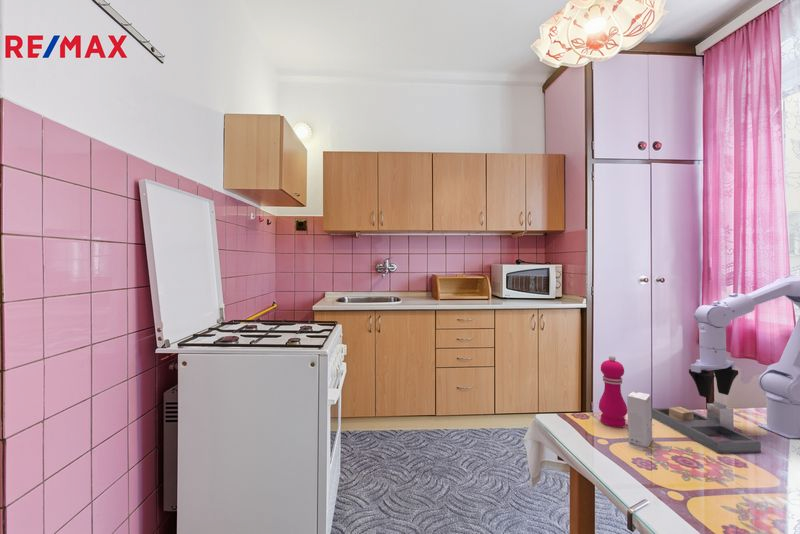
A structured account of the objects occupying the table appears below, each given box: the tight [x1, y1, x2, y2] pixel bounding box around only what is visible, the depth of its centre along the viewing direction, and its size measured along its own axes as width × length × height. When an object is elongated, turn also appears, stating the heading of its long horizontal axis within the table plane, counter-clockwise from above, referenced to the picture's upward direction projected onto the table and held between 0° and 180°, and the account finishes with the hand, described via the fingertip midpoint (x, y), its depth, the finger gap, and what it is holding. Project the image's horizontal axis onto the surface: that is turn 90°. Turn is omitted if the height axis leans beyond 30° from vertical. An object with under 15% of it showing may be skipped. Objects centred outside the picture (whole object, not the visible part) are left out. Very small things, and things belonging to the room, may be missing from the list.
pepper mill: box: [598, 354, 628, 428], centre depth 103 cm, size 7×7×20 cm
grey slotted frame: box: [651, 407, 762, 454], centre depth 97 cm, size 11×22×2 cm, turn 2°
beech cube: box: [668, 406, 694, 421], centre depth 103 cm, size 4×4×4 cm
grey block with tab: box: [706, 400, 735, 430], centre depth 100 cm, size 4×4×7 cm
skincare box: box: [626, 391, 653, 448], centre depth 92 cm, size 6×4×12 cm
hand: (714, 395), depth 99 cm, fingers open, 7 cm apart
